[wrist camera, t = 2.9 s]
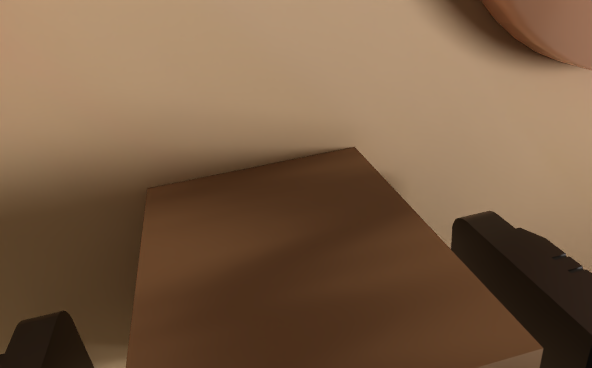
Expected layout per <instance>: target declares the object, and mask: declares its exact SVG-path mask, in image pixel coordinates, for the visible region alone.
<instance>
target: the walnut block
mask: <svg viewBox="0 0 592 368" xmlns="http://www.w3.org/2000/svg"><path fill="white" fill-rule="evenodd" d="M542 353H543V347H542V346H541V345H540V344H539V343H538V342H537V341H536V340H535V339H534V338H533V337H532V336H531V334H530V333H529V332H528V331H527V330H526V329H525V328H524V327H523V326H522V325H521V324H520V323H519V322H518V321H517V320H516V318H515V317H514V316H513V315H512V314H511V313H510V312H509V311H508V310H507V309H506V308H505V307H504V306H503V305H502V304H501V302H500V301H499V300H498V299H497V298H496V297H495V296H494V295H493V294H492V293H491V292H490V291H489V290H488V289H487V288H486V287H485V285H484V284H483V283H482V282H481V281H480V280H479V279H478V278H477V277H476V276H475V275H474V274H473V273H472V272H471V271H470V269H469V268H468V267H467V266H466V265H465V264H464V263H463V262H462V261H461V260H460V259H459V258H458V257H457V256H456V255H455V253H454V252H453V251H452V250H451V249H450V248H449V247H448V246H447V245H446V244H445V243H444V242H443V241H442V240H441V239H440V237H439V236H438V235H437V234H436V233H435V232H434V231H433V230H432V229H431V228H430V227H429V226H428V225H427V224H426V223H425V222H424V220H423V219H422V218H421V217H420V216H419V215H418V214H417V213H416V212H415V211H414V210H413V209H412V208H411V207H410V206H409V204H408V203H407V202H406V201H405V200H404V199H403V198H402V197H401V196H400V195H399V194H398V193H397V192H396V191H395V190H394V188H393V187H392V186H391V185H390V184H389V183H388V182H387V181H386V180H385V179H384V178H383V177H382V176H381V175H380V174H379V172H378V171H377V170H376V169H375V168H374V167H373V166H372V165H371V164H370V163H369V162H368V161H367V160H366V159H365V158H364V157H363V155H362V154H361V153H360V152H359V151H358V150H357V149H356V148H355V147H353V148H348V149H343V150H338V151H333V152H328V153H322V154H317V155H312V156H307V157H302V158H297V159H292V160H287V161H282V162H277V163H272V164H267V165H262V166H257V167H252V168H247V169H242V170H237V171H232V172H227V173H222V174H217V175H212V176H207V177H202V178H197V179H192V180H187V181H182V182H177V183H172V184H167V185H162V186H157V187H152V188H147V196H146V204H145V213H144V221H143V229H142V238H141V246H140V254H139V262H138V271H137V279H136V287H135V296H134V304H133V312H132V320H131V329H130V337H129V345H128V353H127V362H126V368H540V363H541V358H542Z"/></svg>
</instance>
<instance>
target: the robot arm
mask: <svg viewBox="0 0 592 368" xmlns="http://www.w3.org/2000/svg"><path fill="white" fill-rule="evenodd" d="M451 250H452V251H453V252H454V253H455V255H456V256H457V257H458V258H459V259H460V260H461V261H462V262H463V263H464V264H465V265H466V266H467V267H468V268H469V269H470V271H471V272H472V273H473V274H474V275H475V276H476V277H477V278H478V279H479V280H480V281H481V282H482V283H483V284H484V285H485V287H486V288H487V289H488V290H489V291H490V292H491V293H492V294H493V295H494V296H495V297H496V298H497V299H498V300H499V301H500V302H501V304H502V305H503V306H504V307H505V308H506V309H507V310H508V311H509V312H510V313H511V314H512V315H513V316H514V317H515V318H516V320H517V321H518V322H519V323H520V324H521V325H522V326H523V327H524V328H525V329H526V330H527V331H528V332H529V333H530V334H531V336H532V337H533V338H534V339H535V340H536V341H537V342H538V343H539V344H540V345H541V346H542V347H543V353H542V358H541V363H540V368H592V273H591V272H589V271H588V270H583V268H582V266H581V265H580V264H579V263H577V262H576V261H575V260H573V259H572V258H571V257H566V254H565V253H564V252H563V251H562V250H560V249H559V248H558V247H556V246H555V245H554V244H552V243H551V242H550V241H548V240H547V239H546V238H543V237H541V236H539V235H536V234H534V233H531V232H529V231H527V230H524V229H522V228H517V229H515V228H514V227H513V226H511V225H510V224H509V223H508V222H506V221H505V220H504V219H503V218H501V217H500V216H499V215H498V214H496V213H495V212H492V211H487V212H482V213H478V214H474V215H470V216H466V217H461V218H457V219H456V220H455V221H454V223H453V227H452V244H451ZM0 368H94V366H93V364H92V362H91V360H90V357H89V355H88V353H87V351H86V349H85V346H84V344H83V342H82V340H81V338H80V335H79V333H78V331H77V329H76V327H75V325H74V322H73V320H72V318H71V316H70V315H69V314H68V313H67V312H66V311H61V312H57V313H52V314H48V315H44V316H40V317H36V318H31V319H27V320H23V321H21V322H19V324H18V325H17V327H16V329H15V331H14V334H13V336H12V338H11V341H10V343H9V345H8V348H7V350H6V352H5V354H1V355H0Z"/></svg>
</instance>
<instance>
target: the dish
mask: <svg viewBox="0 0 592 368" xmlns="http://www.w3.org/2000/svg"><path fill="white" fill-rule="evenodd" d="M481 2H482V3H483V4H484V6H485V7H486V8H487V10H488V11H489V12H490V14H491V15H492V16H493V17H494V19H495V20H496V21H497V22H498V23H499V24H500V25H501V26H502V27H503V28H504V29H505V30H506V31H507V32H509V33H510V34H511V35H512V36H513V37H514V38H515V39H516V40H518V41H520V42H521V43H523V44H524V45H526V46H527V47H529V48H530V49H532V50H533V51H535V52H537V53H540V54H542V55H544V56H547V57H549V58H552V59H554V60H557V61H560V62H564V63H567V64H571V65H575V66H578V67H582V68H586V69H589V70H592V0H481Z"/></svg>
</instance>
